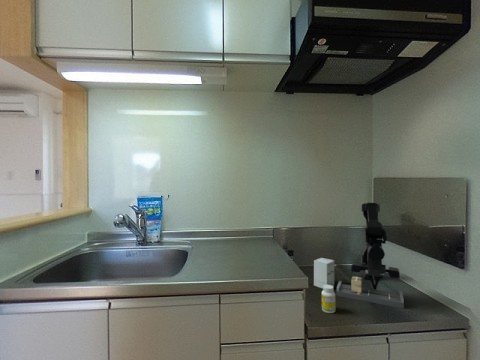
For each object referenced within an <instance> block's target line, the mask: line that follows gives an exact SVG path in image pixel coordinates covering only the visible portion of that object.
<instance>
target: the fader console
mask: <svg viewBox="0 0 480 360" xmlns="http://www.w3.org/2000/svg"><path fill="white" fill-rule="evenodd" d="M336 296H337V297H341V298H346V299H352V300H355V301H356V300H357V301H363V302H367V303H373V304H378V305H383V306H387V307H393V308H399V309H405V305H404V304H405V302H404V294H403V290H399V291H398V293H397V292H394V291H393V292H392V291H388V290H387V291H386V290H381V289H376V290H375V289H373V288H368V287H363V286H362V291H361V293H359V292H353V291H351V284H346V283H345V284H344V283H342V280H338V283H337V285H336V292H335V297H336Z"/></svg>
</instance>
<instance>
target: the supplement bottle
mask: <svg viewBox="0 0 480 360" xmlns="http://www.w3.org/2000/svg"><path fill="white" fill-rule="evenodd" d="M334 287H335V286H331V285H323V288H322V291H321V310H322V312H324V313H326V314H327V313H328V314H333V313H335V312H336V292H335V291H334Z"/></svg>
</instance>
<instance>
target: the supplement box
mask: <svg viewBox="0 0 480 360" xmlns="http://www.w3.org/2000/svg"><path fill="white" fill-rule="evenodd" d="M323 285H331V286H333V287H335V260H333V259H329V258H323V257H320V258H317V259H315V260H313V286H315V287H317V288H319V289H323Z"/></svg>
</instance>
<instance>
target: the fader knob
mask: <svg viewBox="0 0 480 360" xmlns="http://www.w3.org/2000/svg"><path fill="white" fill-rule="evenodd" d="M362 279H363V278H362V277H359V276H352V277H351V280H350V281H351V284H350V285H351V291H353V292H359V293H361V291H362V287H363V280H362Z"/></svg>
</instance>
